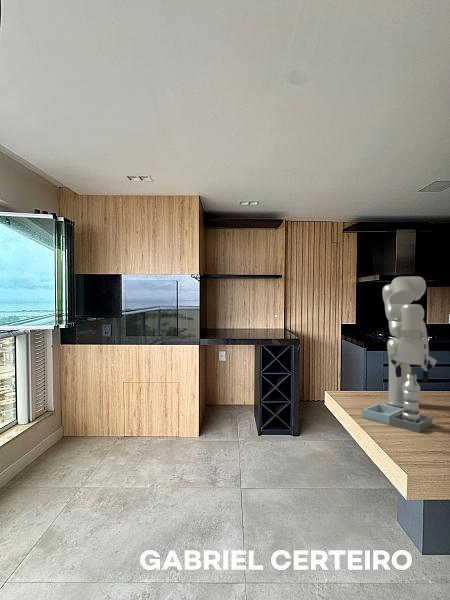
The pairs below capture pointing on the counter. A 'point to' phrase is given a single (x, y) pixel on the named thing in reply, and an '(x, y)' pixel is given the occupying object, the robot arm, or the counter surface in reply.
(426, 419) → the bin
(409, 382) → the plastic bottle
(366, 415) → the bin
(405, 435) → the counter surface
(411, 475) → the counter surface
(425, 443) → the counter surface
